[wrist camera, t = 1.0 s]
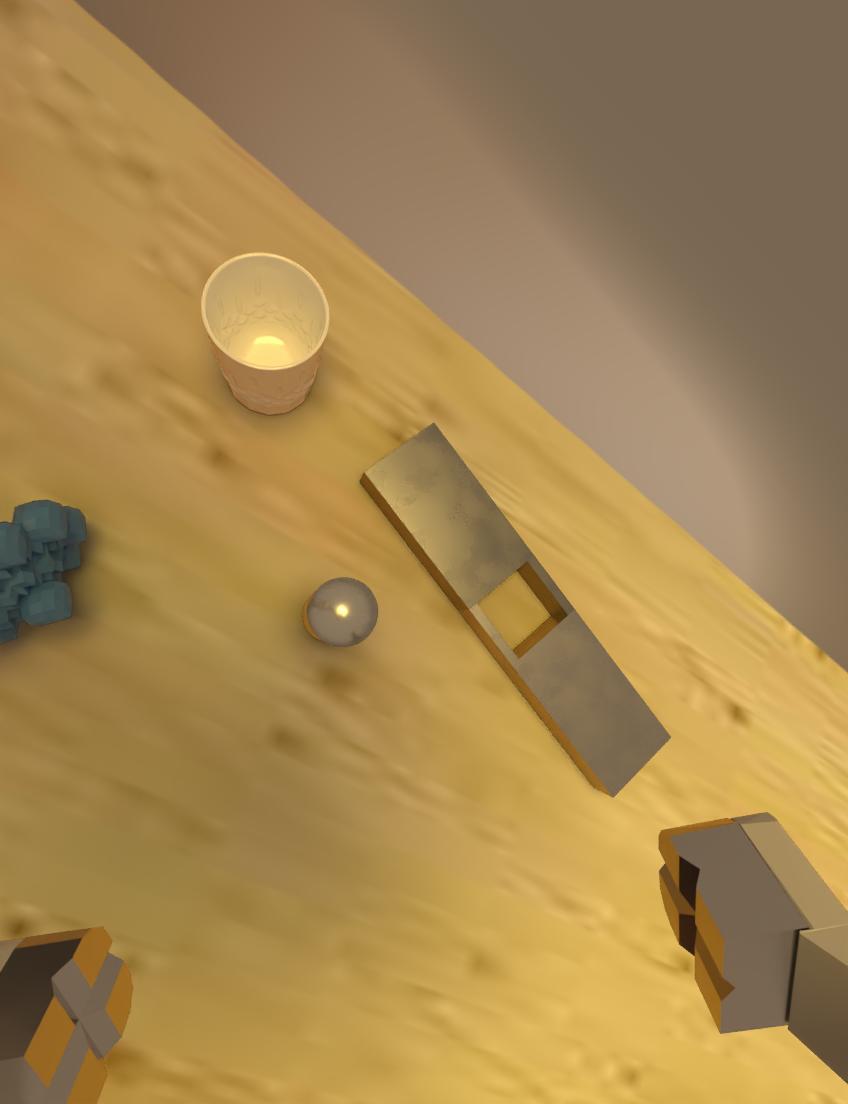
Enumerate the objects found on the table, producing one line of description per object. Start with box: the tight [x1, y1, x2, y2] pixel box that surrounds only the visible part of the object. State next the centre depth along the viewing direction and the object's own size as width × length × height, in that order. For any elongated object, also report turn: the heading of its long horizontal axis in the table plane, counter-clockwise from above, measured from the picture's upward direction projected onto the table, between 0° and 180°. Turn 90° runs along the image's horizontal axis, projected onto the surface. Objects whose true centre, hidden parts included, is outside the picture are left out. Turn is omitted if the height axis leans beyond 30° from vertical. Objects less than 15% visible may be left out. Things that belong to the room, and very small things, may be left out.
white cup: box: [201, 253, 329, 415], centre depth 42 cm, size 8×8×10 cm
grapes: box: [0, 500, 86, 643], centre depth 36 cm, size 12×7×12 cm, turn 149°
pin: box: [302, 577, 378, 647], centre depth 40 cm, size 4×4×12 cm
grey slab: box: [359, 423, 671, 797], centre depth 48 cm, size 32×7×3 cm, turn 39°
